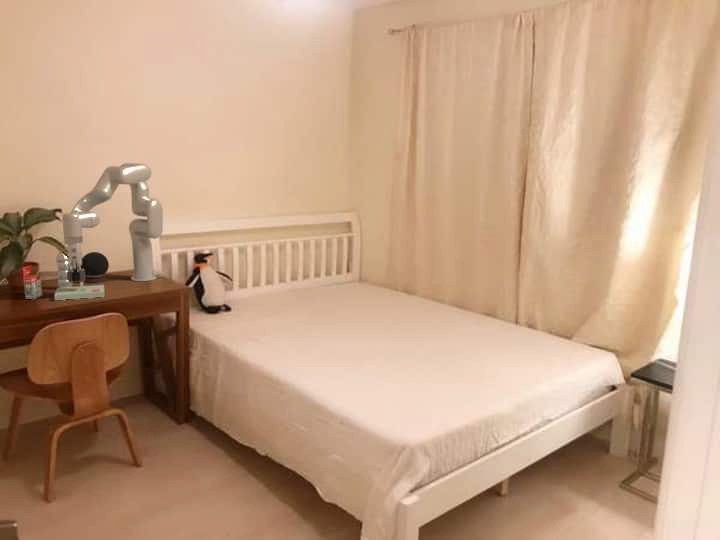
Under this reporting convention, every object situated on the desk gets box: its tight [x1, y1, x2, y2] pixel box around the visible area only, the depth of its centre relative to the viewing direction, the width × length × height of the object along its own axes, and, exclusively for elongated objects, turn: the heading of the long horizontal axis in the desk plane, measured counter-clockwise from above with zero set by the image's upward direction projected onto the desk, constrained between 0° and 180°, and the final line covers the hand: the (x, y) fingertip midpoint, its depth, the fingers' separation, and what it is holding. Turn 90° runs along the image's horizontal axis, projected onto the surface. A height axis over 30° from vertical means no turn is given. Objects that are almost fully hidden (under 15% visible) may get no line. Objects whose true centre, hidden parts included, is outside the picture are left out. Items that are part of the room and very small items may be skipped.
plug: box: [67, 268, 86, 287], centre depth 257 cm, size 7×5×7 cm
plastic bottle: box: [55, 246, 74, 288], centre depth 268 cm, size 6×7×20 cm
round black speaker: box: [79, 251, 110, 284], centre depth 286 cm, size 13×13×15 cm
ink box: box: [22, 264, 43, 301], centre depth 251 cm, size 4×8×15 cm, turn 3°
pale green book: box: [53, 284, 105, 301], centre depth 258 cm, size 20×15×3 cm
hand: (76, 278), depth 257 cm, fingers closed on plug, 5 cm apart
